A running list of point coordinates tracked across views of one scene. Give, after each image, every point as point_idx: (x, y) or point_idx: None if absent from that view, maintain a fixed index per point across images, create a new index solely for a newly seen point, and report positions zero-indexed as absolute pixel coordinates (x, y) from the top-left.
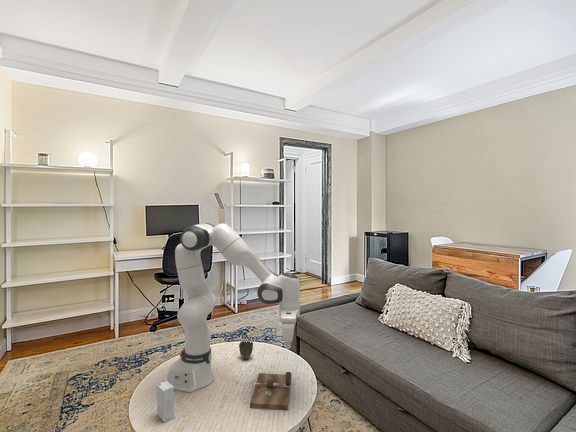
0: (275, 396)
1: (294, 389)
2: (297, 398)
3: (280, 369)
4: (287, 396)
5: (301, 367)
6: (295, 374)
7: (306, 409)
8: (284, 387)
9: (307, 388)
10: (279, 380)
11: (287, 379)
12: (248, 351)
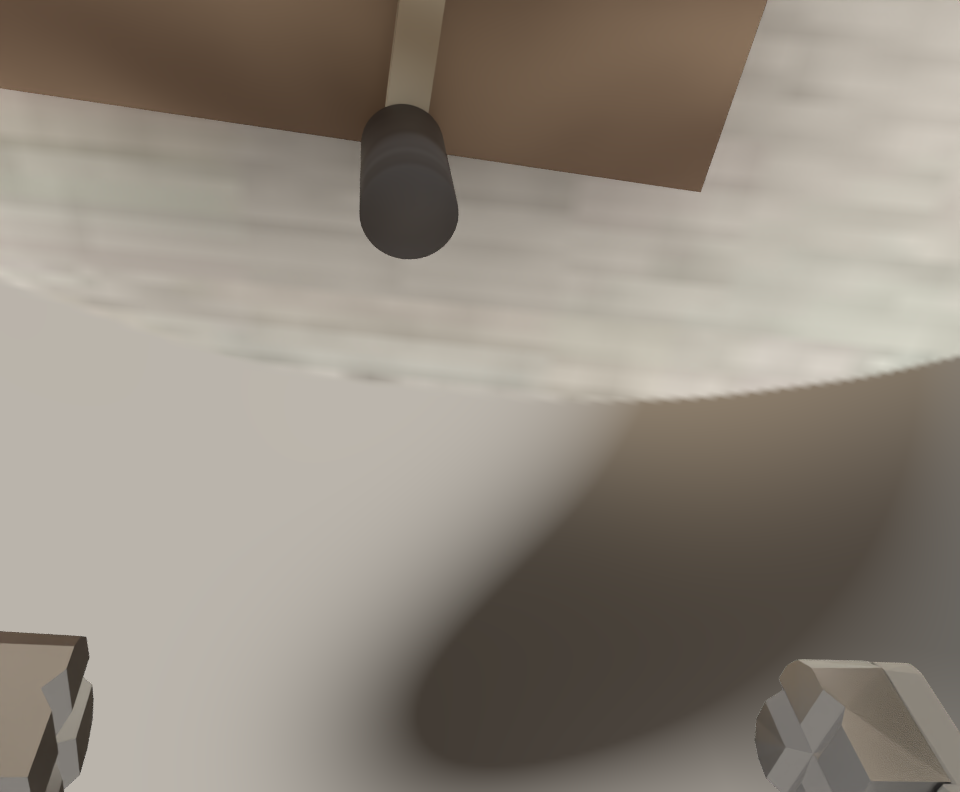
0: None
1: None
2: (264, 214)
3: (956, 45)
4: (183, 100)
5: (892, 321)
6: (768, 239)
7: (65, 289)
8: None
9: (458, 340)
10: (591, 9)
11: (362, 162)
12: None
